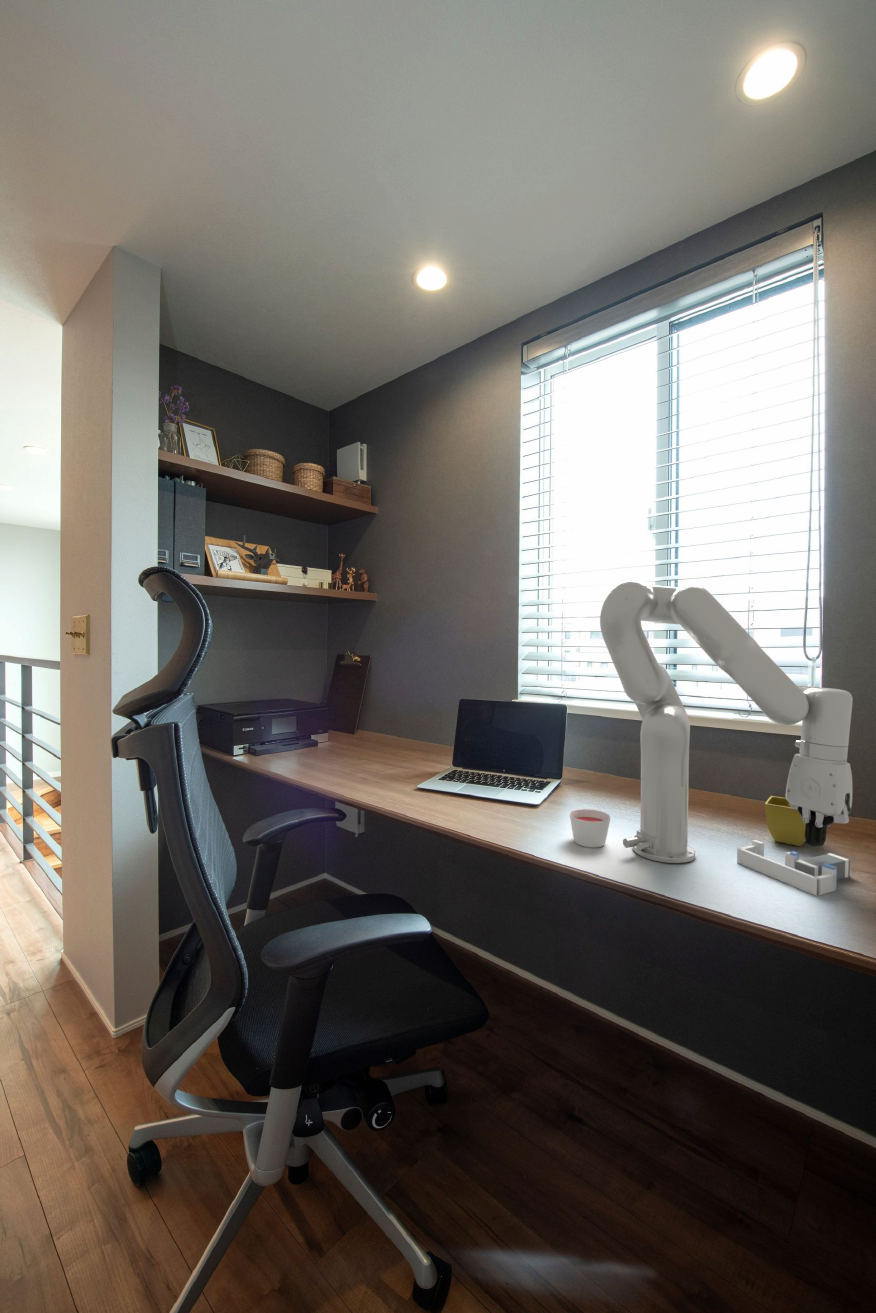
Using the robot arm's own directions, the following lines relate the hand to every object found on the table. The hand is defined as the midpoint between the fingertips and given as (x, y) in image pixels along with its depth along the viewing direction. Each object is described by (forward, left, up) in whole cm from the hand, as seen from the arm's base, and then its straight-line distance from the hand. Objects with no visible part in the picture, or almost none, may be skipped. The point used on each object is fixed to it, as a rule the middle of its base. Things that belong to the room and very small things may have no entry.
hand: (814, 844), depth 107 cm
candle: (-29, +31, -7) cm, 43 cm away
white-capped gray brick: (+1, -1, -6) cm, 7 cm away
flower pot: (+14, +14, -7) cm, 21 cm away
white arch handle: (-5, +2, -6) cm, 8 cm away
